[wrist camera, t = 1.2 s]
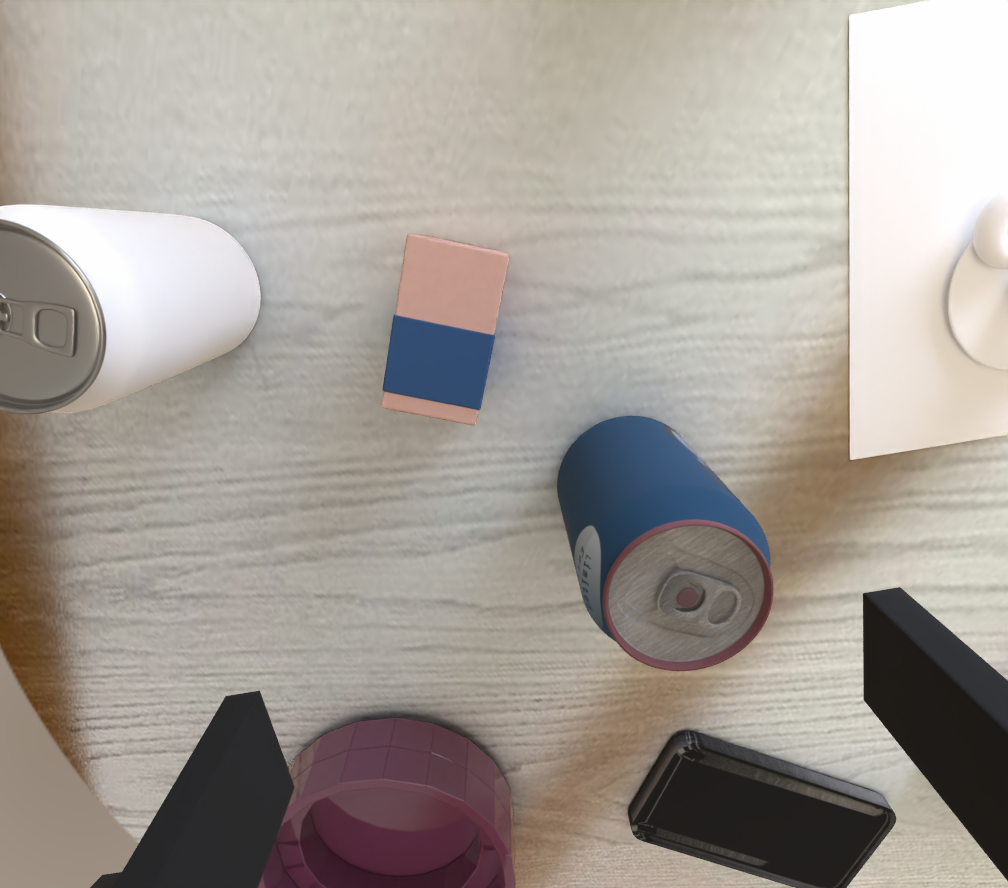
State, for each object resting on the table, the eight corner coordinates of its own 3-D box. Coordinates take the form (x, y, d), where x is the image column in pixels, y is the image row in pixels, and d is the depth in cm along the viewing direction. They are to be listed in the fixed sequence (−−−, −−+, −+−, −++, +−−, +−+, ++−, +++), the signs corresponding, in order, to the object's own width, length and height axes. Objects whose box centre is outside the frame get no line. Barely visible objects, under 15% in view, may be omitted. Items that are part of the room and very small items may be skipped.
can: (129, 198, 28) (-120, 171, 17) (273, 236, 29) (127, 235, 17) (119, 338, 30) (-110, 399, 19) (255, 371, 31) (112, 450, 19)
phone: (682, 740, 36) (904, 813, 38) (677, 726, 38) (893, 798, 39) (624, 837, 39) (836, 902, 41) (620, 820, 40) (827, 884, 42)
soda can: (535, 512, 33) (555, 655, 22) (584, 390, 31) (633, 478, 20) (656, 550, 34) (736, 708, 23) (711, 434, 32) (830, 543, 21)
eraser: (397, 381, 31) (379, 408, 26) (420, 234, 29) (405, 233, 24) (479, 397, 31) (476, 427, 26) (508, 253, 29) (511, 255, 24)
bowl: (272, 871, 41) (243, 954, 36) (295, 693, 37) (265, 760, 32) (488, 901, 42) (487, 986, 37) (534, 731, 38) (539, 802, 33)
